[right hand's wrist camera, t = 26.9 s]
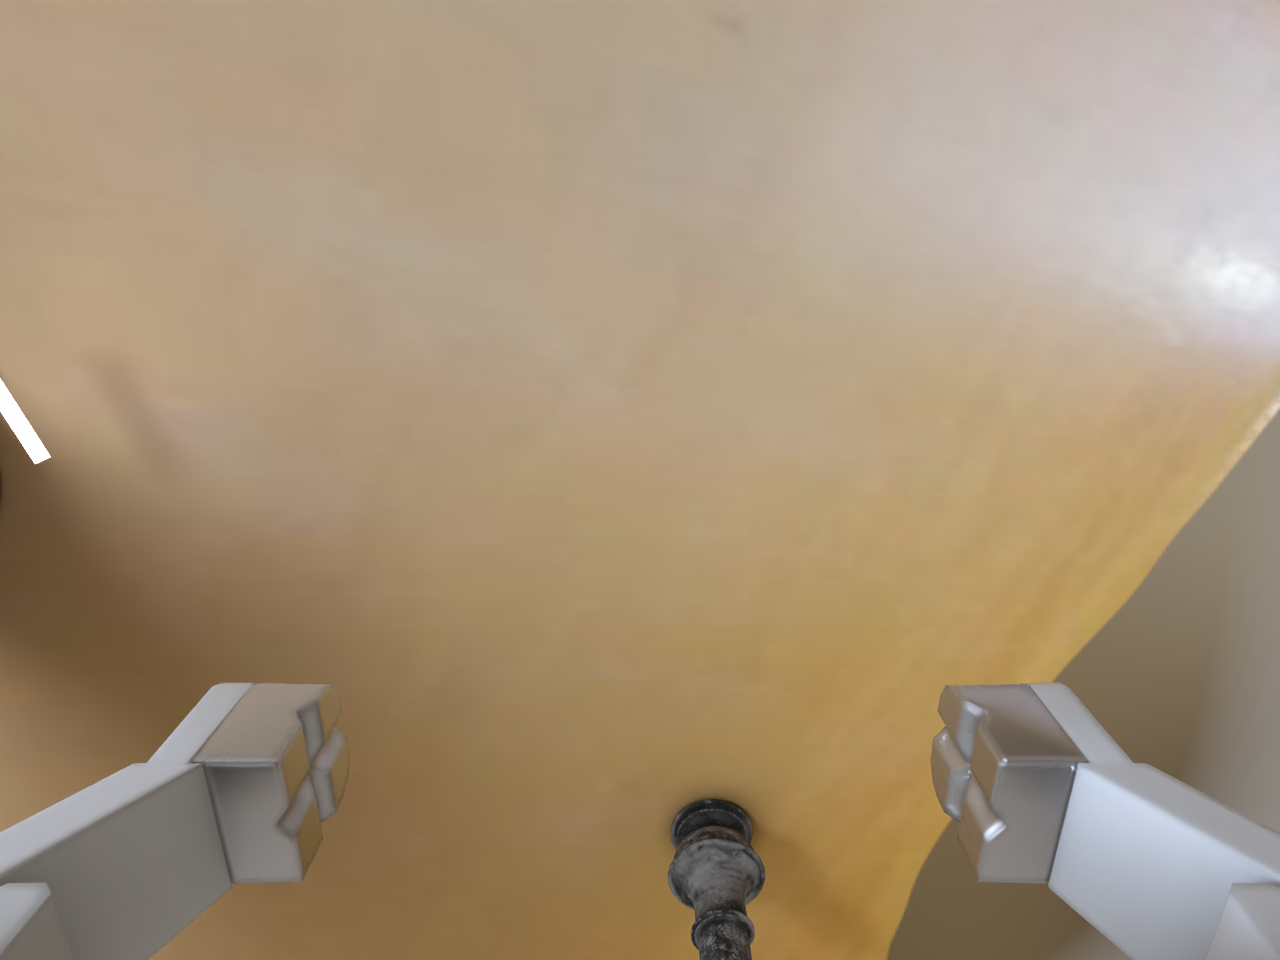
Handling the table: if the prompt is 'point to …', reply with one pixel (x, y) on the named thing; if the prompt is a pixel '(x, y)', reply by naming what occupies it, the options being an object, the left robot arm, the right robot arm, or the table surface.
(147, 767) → the right robot arm
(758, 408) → the table surface
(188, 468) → the table surface
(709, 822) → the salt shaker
